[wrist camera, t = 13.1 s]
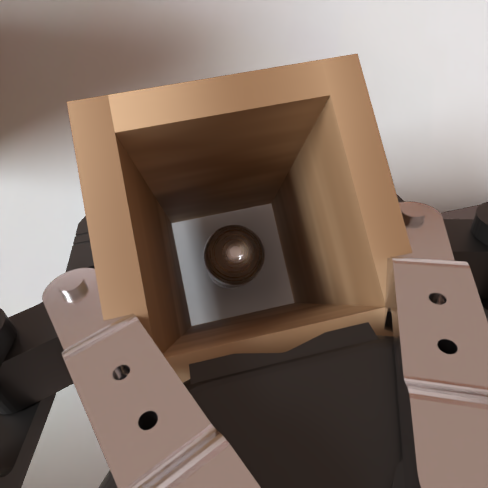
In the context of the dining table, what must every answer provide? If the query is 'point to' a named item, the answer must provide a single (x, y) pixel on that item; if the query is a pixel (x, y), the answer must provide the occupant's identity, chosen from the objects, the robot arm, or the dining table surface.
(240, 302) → the hub plate
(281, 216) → the oak collar
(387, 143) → the dining table surface
